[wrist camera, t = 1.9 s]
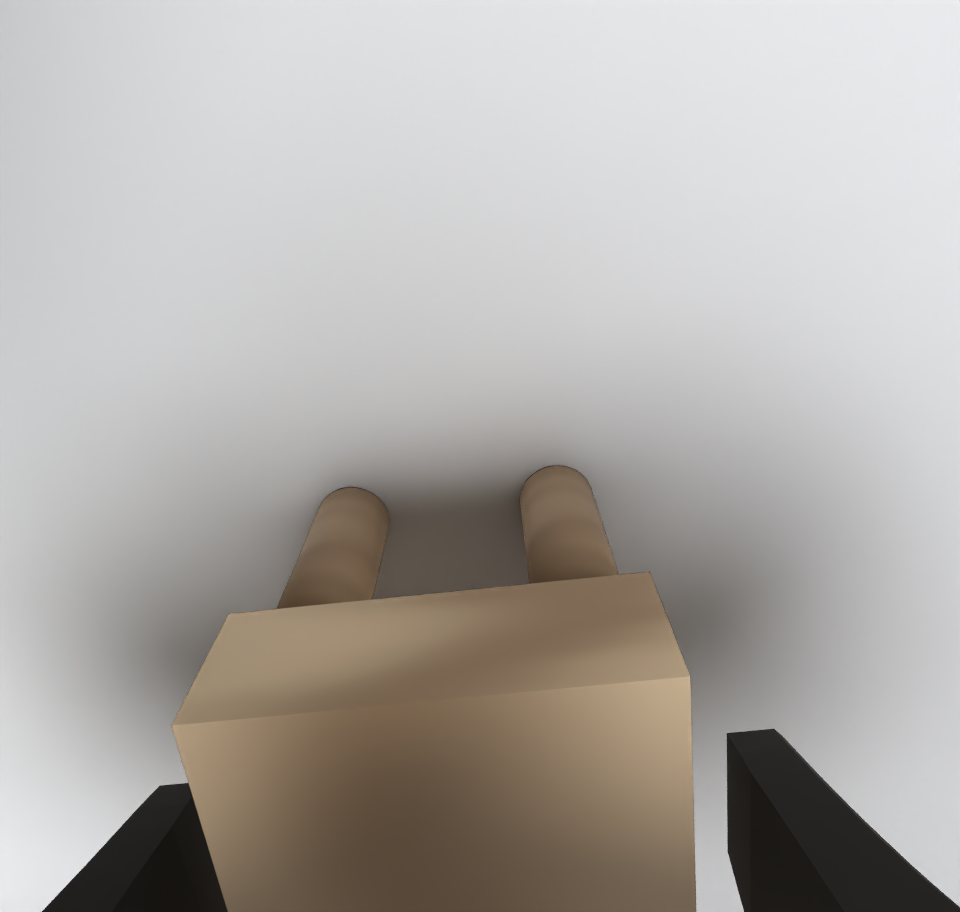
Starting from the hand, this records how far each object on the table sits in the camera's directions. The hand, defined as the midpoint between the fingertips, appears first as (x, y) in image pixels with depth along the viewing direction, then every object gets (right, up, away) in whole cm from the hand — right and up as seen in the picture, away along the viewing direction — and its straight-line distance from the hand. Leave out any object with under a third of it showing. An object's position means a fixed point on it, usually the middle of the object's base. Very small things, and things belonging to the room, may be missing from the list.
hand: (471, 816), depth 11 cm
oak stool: (0, +1, +4) cm, 4 cm away
